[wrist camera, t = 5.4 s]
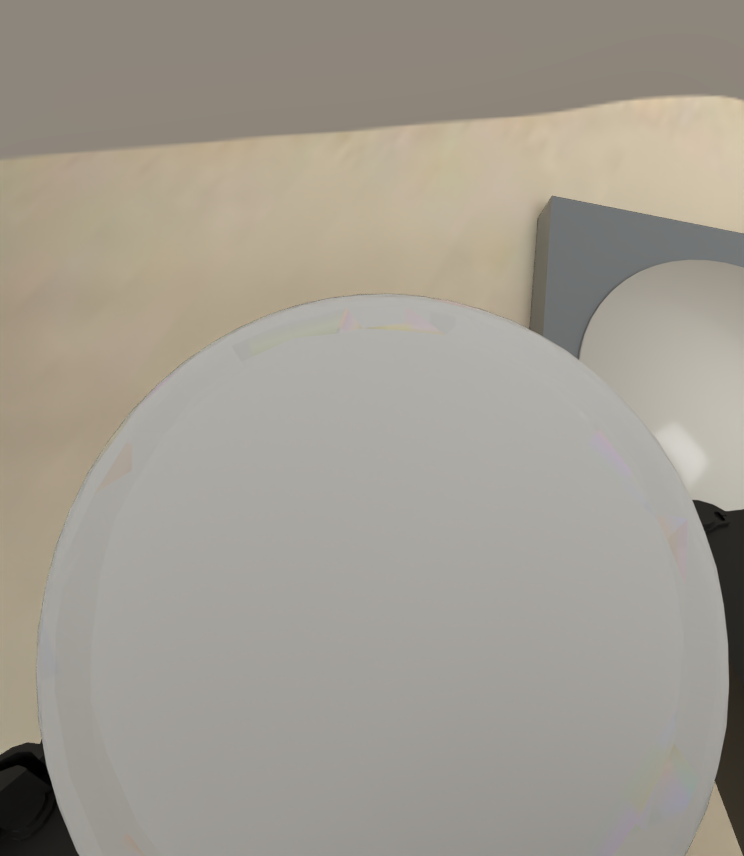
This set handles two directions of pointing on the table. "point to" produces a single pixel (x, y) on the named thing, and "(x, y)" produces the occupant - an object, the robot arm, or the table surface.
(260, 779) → the coffee cup
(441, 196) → the table surface
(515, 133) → the table surface
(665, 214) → the table surface
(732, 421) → the gray square plate
